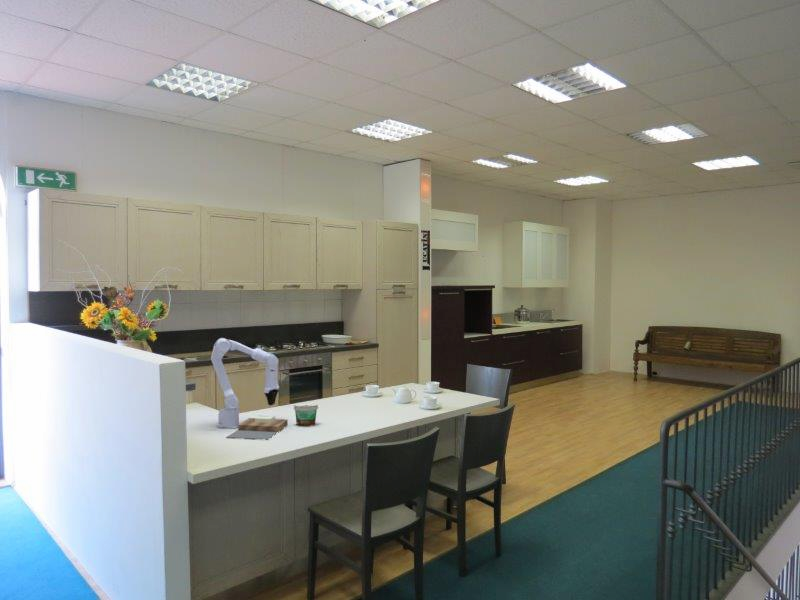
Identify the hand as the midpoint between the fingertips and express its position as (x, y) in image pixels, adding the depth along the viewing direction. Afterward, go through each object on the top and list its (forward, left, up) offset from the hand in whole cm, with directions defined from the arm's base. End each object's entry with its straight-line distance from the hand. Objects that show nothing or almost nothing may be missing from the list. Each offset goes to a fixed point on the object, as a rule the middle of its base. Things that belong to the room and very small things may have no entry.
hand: (271, 404), depth 286 cm
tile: (0, -9, -6) cm, 11 cm away
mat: (0, -25, -9) cm, 26 cm away
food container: (+19, -2, -10) cm, 21 cm away
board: (0, -11, -9) cm, 14 cm away
